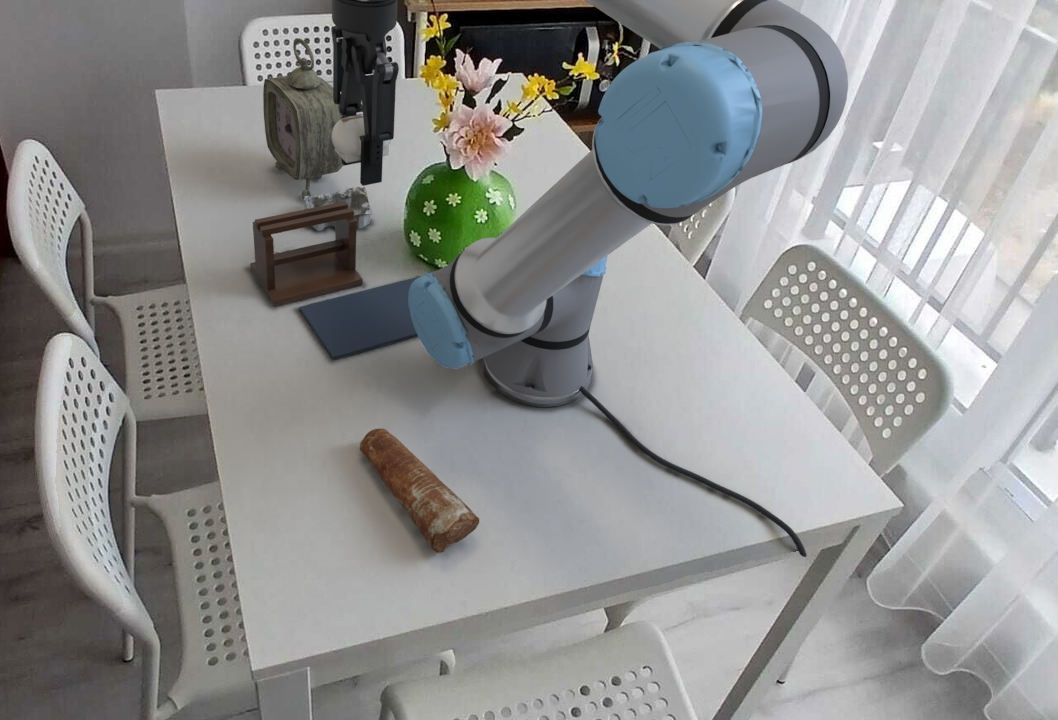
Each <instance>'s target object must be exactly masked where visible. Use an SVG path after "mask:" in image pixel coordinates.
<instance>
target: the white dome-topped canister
mask: <svg viewBox="0 0 1058 720" xmlns="http://www.w3.org/2000/svg"><path fill="white" fill-rule="evenodd" d="M360 114H361V115H355V116H349V117H345V118H342V119H341V120H339V121H338V122H337V123H336V124H335V126H334V127H333V130H332V135H331V139H332V143H333V145H334V147H335V151H336V152H337V153H338V154H339V156H340V157H341V158H342V159H343V160H344V161H345V162H346V163H350V162H355V161H360V160H361V140H360V137H359V136H363V135H365V131H364V120H363V113H360ZM391 142H392V140H386V141H383V157H386V156H389V153H390V144H391Z"/></svg>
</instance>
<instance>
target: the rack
mask: <svg viewBox="0 0 1058 720" xmlns="http://www.w3.org/2000/svg"><path fill="white" fill-rule="evenodd" d="M332 221H336V223H335V227H334V228H335V229H334V230H335V232H334V234H335V236H334V237H335V239H334V240H330V241H326V242H321V243H316V244H312V245H307V246H304V247H303V246H302V247H298V248H293V249H290V250H289V249H288V250H285V251H279V252H276V253H275V249H274V248H275V247H274V245H275V244H274V237H273V236H272V235H276V234H279V233H280V234H281V233H284V232H290V231H294V230H298V229H303V228H309V227H310V226H313V225H318V224H323V223H328V222H332ZM357 229H358V228H357V220H356V219H355V218H354V210H353V209H352V208H348V203H347V202H346V201H344V202H339V203H334V204H329V205H324V206H320V207H315V208H310V209H306V208H305V209H300V210H296V211H290V212H286V213H285V212H284V213H281V214H276V215H271V216H270V215H269V216H266V217H261V218H255V219H254V221H252V233H253V247H254V248H253V250H254V261H253V262H250V263H249V268H250V271H251V272H252V275H253V276H254V277H255V279H256V280H257V282H258V283H259V285H260V286H261V288H262V290H263V291H264V293H265V294H266V297H268V299H269V301H270V302H271V304H272V305H273V307H275V308H276V307H280V306H284V305H287V304H291V303H295V302H300V301H303V300H309V299H312V298H315V297H319V296H323V295H328V294H332V293H336V292H339V291H343V290H347V289H352V288H355V287H360V286H362V285H363V277H362V276H361V275H360V273H359V272H358V271H357V269H356V266H357V265H356V264H357V260H356V259H357Z"/></svg>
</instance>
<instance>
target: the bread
mask: <svg viewBox="0 0 1058 720" xmlns="http://www.w3.org/2000/svg"><path fill="white" fill-rule="evenodd" d="M359 450H360V452H361V453H362V454H363V455H364V456H365V457H366V459H367V460H368V461H369V463H370V464H371V465H372V467H373V469H374V470H375V471H376V474H377V476H378V477H379V478H380V479H381V480H382V482H383V483H384V484H385V486H386V487H387V488H388V489H389V491H390V492H391V494H392V495H393V497H394V498H396V500H397V502H398V503H399V504H400V505H401V507H402V508H403V510H404V511H405V513H406V514H407V515H408V517H409V518H410V521H412V523H413V524H414V525H415V527H416V528H417V530H418V531H419V532H420V534H421V535H422V537H423V538H424V539H425V541H426V542H427V544H428V545H429V546H430V547H431V549H432V550H433V551H434V552H435V553H436V554H439V553H440V554H441V553H443V552H445V550H446V549H447V548H448V547H450V546H451V545H453V544H456V543H458V542H460V541H462V540H464V539H465V538H466V537H468V536H469V535H470V534H471V533H472V532H474V531H475V530H476V529H477V527H478V526H479V524H480V517H478V516H477V515H476V513H474V512H473V510H472V509H471V508H470V507H469V506H468V505H467V504H466V503H465V502H464V501H462V499H461V498H460V497H459V496H458V495H457V494H455V492H453V490H452V489H450V488H449V486H448V485H446V484H445V483H443V481H442V480H440V478H439V477H438V476H437V475H436V474H435V473H434V471H432V470H431V469H430V468H428V466H427V465H426V464H425V463H423V462H422V461H421V460H420V459H419V458H418V456H416V455H415V454H414V453H412V451H410V450H409V448H408V447H406V446H405V444H403V443H402V442H401V441H400V440H399V439H398V438H396V436H394V435H393V434H392V433H390V432H389V431H388V430H387V429H386V428H380V427H377V428H373V429H371V430H370V431H368V432H367V433H366V434H365V436H363V439H362V440H361V441H360V443H359Z"/></svg>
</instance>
